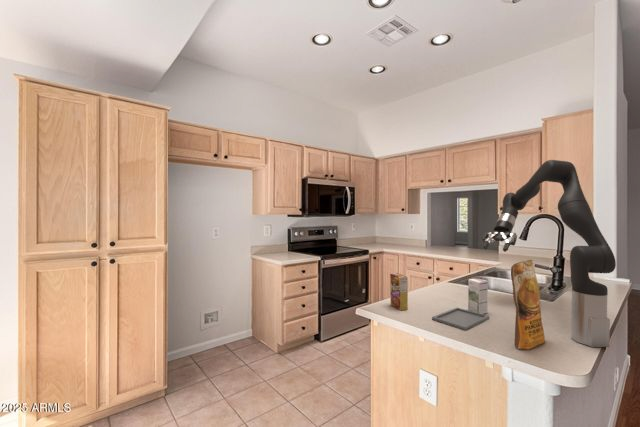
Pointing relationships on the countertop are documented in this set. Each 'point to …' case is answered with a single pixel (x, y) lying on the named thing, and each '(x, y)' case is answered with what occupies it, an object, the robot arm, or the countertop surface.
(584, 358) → the countertop surface
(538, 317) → the pancake mix bag
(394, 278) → the candy box
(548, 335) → the countertop surface
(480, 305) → the syrup box
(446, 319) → the tray
